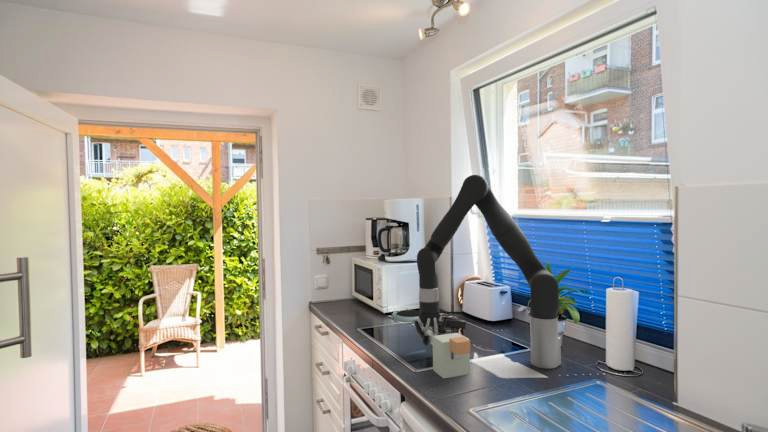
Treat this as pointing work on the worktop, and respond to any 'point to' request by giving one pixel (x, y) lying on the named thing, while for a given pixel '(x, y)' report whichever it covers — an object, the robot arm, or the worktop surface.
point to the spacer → (459, 345)
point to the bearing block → (448, 357)
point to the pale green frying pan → (406, 315)
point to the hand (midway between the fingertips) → (430, 344)
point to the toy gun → (453, 323)
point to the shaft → (430, 334)
